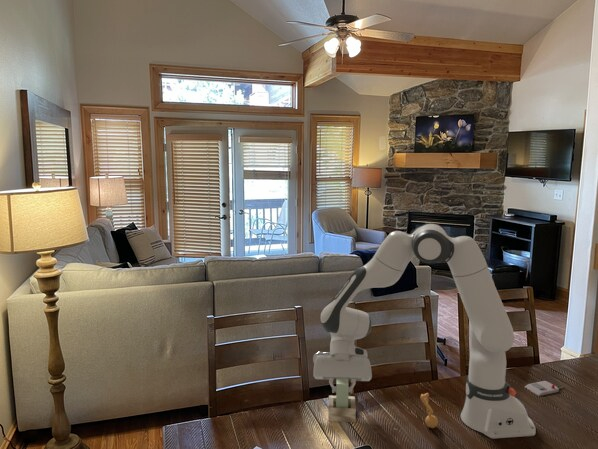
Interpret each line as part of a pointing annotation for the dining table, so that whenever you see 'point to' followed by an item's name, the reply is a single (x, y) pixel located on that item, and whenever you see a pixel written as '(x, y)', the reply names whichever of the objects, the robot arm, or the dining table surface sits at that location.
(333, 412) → the beige square socket frame
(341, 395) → the sage-green peg
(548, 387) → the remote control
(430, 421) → the figurine
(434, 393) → the dining table surface
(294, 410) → the dining table surface
